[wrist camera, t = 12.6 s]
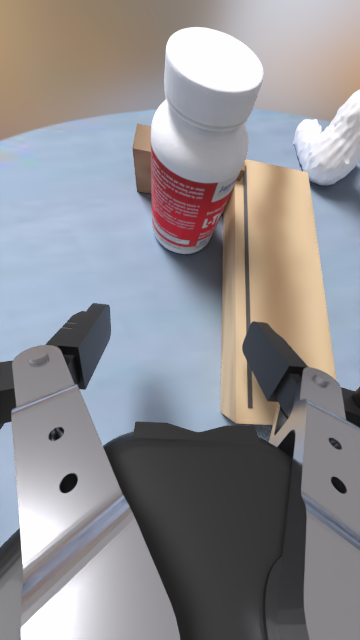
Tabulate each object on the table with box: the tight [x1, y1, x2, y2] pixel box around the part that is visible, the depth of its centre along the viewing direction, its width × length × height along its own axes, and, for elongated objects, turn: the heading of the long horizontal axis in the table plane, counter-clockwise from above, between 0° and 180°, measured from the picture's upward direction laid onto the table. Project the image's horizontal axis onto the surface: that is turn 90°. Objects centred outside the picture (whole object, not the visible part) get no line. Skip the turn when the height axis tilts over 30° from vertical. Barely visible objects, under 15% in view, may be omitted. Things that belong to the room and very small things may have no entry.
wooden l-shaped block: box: [133, 124, 336, 425], centre depth 16 cm, size 18×24×4 cm
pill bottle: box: [151, 27, 263, 254], centre depth 14 cm, size 6×6×11 cm
